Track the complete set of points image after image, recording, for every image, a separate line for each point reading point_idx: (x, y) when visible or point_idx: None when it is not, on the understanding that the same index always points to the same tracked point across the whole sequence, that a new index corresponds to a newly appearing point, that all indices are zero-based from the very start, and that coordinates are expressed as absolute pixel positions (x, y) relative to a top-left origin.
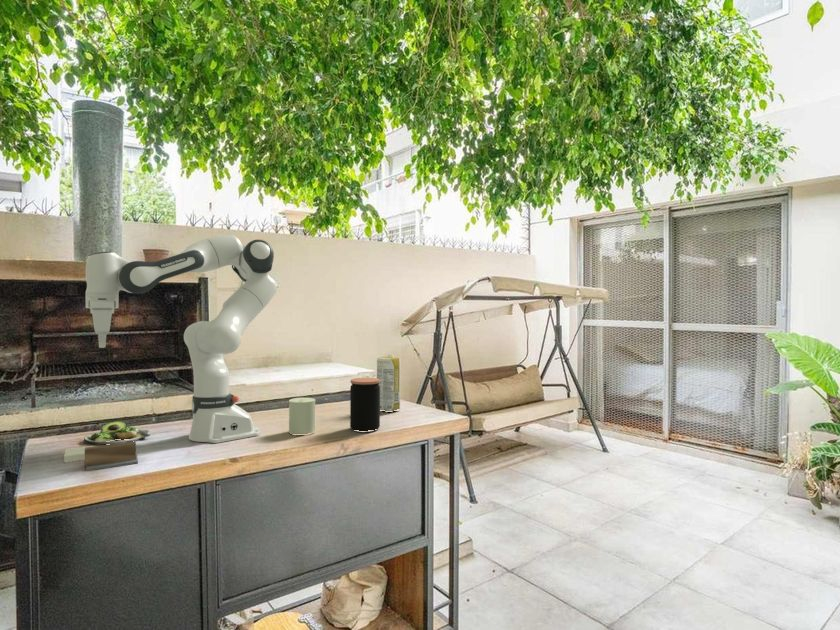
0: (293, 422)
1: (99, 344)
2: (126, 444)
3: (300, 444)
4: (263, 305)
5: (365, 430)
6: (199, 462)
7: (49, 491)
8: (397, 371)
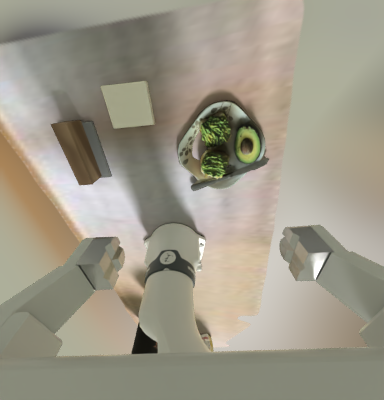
0: None
1: (76, 253)
2: (76, 175)
3: (120, 286)
4: None
5: None
6: (79, 226)
7: None
8: None
